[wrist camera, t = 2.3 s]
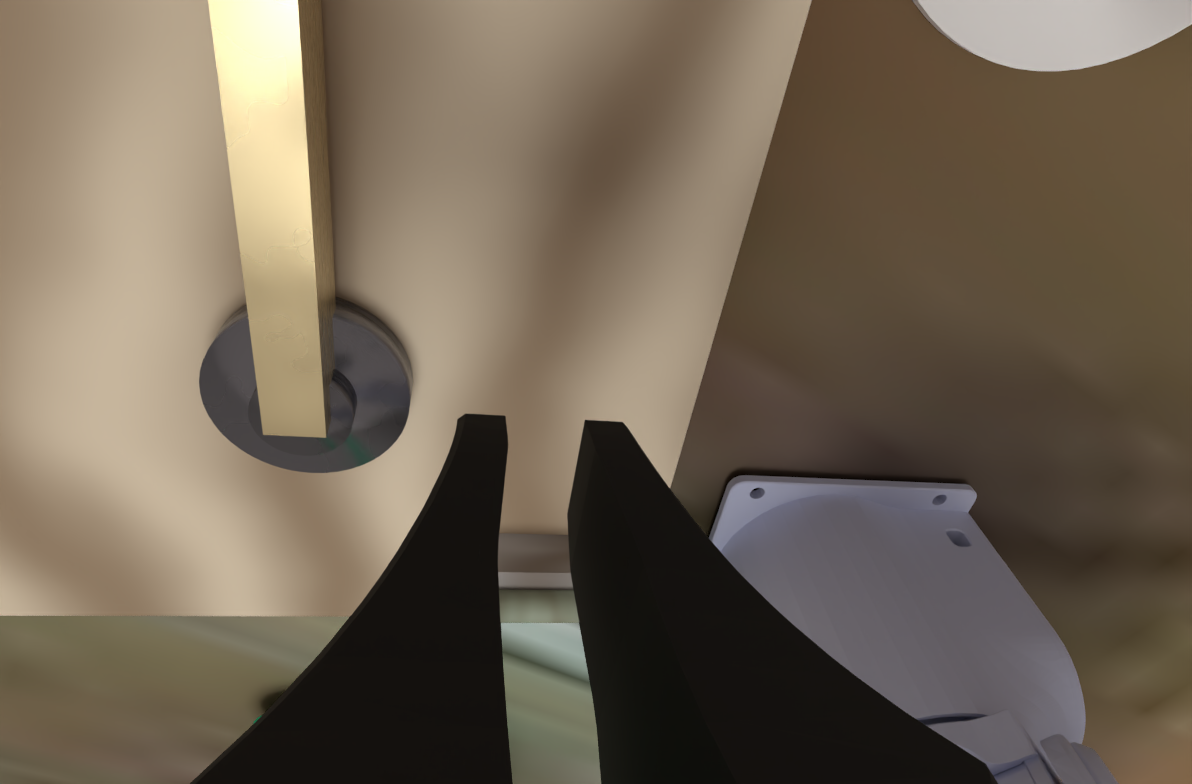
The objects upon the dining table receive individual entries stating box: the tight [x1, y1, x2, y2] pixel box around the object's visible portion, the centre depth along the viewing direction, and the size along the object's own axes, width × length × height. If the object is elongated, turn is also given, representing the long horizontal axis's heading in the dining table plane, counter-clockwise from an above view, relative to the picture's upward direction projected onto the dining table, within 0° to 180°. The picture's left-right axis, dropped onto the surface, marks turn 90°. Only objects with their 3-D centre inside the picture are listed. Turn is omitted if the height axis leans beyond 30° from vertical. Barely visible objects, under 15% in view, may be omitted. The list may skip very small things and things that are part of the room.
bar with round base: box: [199, 0, 413, 473], centre depth 16 cm, size 5×12×2 cm, turn 171°
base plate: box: [0, 0, 812, 623], centre depth 18 cm, size 21×22×4 cm
